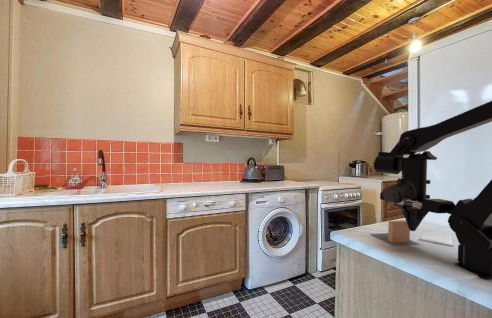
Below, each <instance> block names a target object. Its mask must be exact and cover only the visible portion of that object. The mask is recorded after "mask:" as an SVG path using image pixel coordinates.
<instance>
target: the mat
mask: <svg viewBox="0 0 492 318" xmlns="http://www.w3.org/2000/svg"><path fill="white" fill-rule="evenodd" d="M369 235H370V236H373V237H374V238H376V239H378V240H380V241H383V242H384V243H387V244H388V245H390V246H393V247H401V246H402V247H403V246H404V247H405V246H414V245H415V246H418V245H420V246H421V244H420V243H419V242H416V241H414V240H411V239H410V242H397V243H392V242H390V241H388V232H384V233H369Z"/></svg>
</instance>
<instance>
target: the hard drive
mask: <svg viewBox="0 0 492 318" xmlns="http://www.w3.org/2000/svg"><path fill="white" fill-rule="evenodd" d="M417 240H418V241H419V242H424V243H429V244H435V245H439V246H445V247H450V248H455V243H454V238H453V234H451V233H447V232H446V233H445V232H442V231H441V232H440V231H434V230H428V229H424V228H423V229H422V228H421V229H420V232H419V236H418V239H417Z"/></svg>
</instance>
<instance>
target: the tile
mask: <svg viewBox="0 0 492 318" xmlns="http://www.w3.org/2000/svg"><path fill="white" fill-rule="evenodd" d="M387 230H388V232H387V233H388V241H390V242H392V243H397V242H410V240H411V239H410V238H411V237H410V236H411V231H410V230H409V227H408V225H407V222H406V219H405V220H389V221H388V229H387Z"/></svg>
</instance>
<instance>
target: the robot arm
mask: <svg viewBox="0 0 492 318" xmlns="http://www.w3.org/2000/svg"><path fill="white" fill-rule="evenodd" d="M491 122H492V100H490V101H487V102H485V103H483V104H480V105H478V106H476V107H473V108H471V109H469V110H466V111H464V112H462V113H459V114H457V115H455V116H452V117H449V118H447V119H445V120H442V121H440V122H438V123H436V124H433V125H432V124H431V125H429V126H428V125H427V126H423V127H418V128H417V127H416V128H414V129H410V130H409V129H408V130H407V131H404V132H403V133H400V135H399V138H398V139H399V140H398V142H396V144H395V146H394V147H393V148H392V149H391V151H390V152H389V151H378V154H377V156H376V157H375V159H374V161H373V168H374V171H375V172H376V173H377V174H387V175H388V174H389V175H390V174H391V175H398V174H400V173H401V178H397V180H396V184H393V185H391V186H388V187H385V188H383V189H382V191H381V192H380V193H379V200H383V201H385V202H391V203H392V204H394V206H395V207H397V208H398V209H400V210H401V212H402V214H403V216H404V218H405V220H406V222H407V225H408V227H409V230H410V232H416V230H417V228H419V226H420V224H421V223H422V222H423V220H424V218H425V217H426V216H427V215H428V214H429V213H434V214H448V215H449V217H448V219H447V223H448V225H449V228H450V229H451V231H452V232H454V233H455V236H456V239H457V241H458V243H459V244H458V245H457V262H454V263H453V265H454V266H457V267H458V268H461V269H463V270H466V271H468V272H470V273H472V274H475V275H477V276H478V277H480V278H482V279H484V280H487V279H488V280H489V279H492V179H491V180H490V181H489V182H488V183H487V184H486V185H485V186H484V187H483V189H482V190H481V191H480V193H478V195H476V197H475V198H473V199H472V198H464V199H460V200H458V201H457V202H456V204H455V203H454V201H452V200H447V199H442V198H431V195H430V194H427V185H430V184H431V180H430V179H427V175H428V161H431V160H432V161H436V160H438V157H437V156H436V155H434V154H433V153H432V152H431V151H429V150H430V149H431V148H433V147H435V146H437V145H438V144H439V143H441V142H442V141H444V140H446V139H447V138H450V137H453V136H456V135H459V134H461V133H465V132H467V131H470V130H472V129H475V128H478V127H480V126H483V125H486V124H488V123H491ZM404 156H407V157H404Z"/></svg>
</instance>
